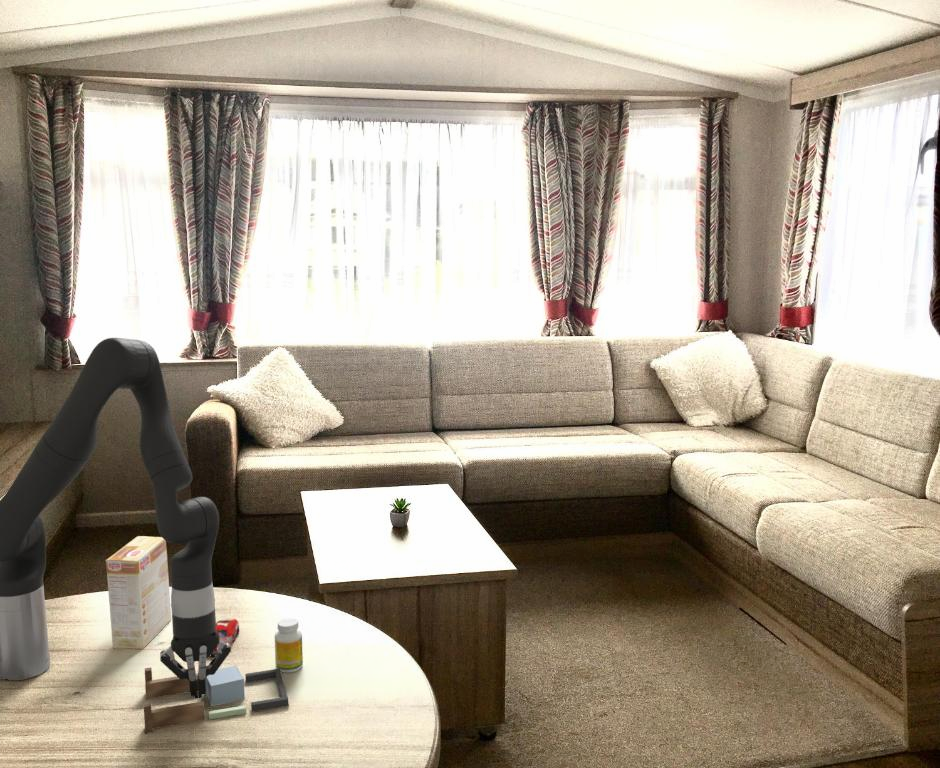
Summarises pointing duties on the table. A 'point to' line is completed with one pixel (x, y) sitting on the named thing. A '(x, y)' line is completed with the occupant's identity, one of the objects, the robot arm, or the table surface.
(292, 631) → the supplement bottle
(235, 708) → the rails
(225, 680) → the block
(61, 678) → the table surface
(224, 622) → the race car
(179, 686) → the channel
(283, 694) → the frame
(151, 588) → the coffeecake box
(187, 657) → the robot arm
